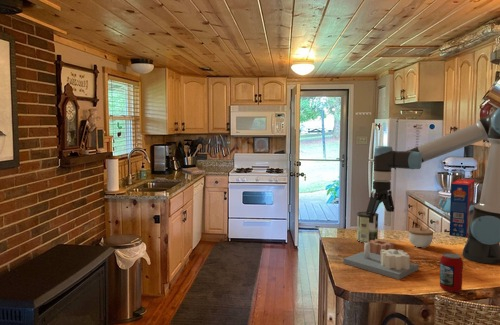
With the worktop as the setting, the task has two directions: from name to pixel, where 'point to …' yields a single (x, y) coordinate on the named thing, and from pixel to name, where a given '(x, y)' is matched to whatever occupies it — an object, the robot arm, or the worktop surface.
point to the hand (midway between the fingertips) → (379, 227)
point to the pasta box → (461, 206)
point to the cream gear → (394, 259)
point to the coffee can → (366, 228)
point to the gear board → (377, 264)
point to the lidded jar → (420, 237)
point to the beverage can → (451, 272)
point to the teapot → (445, 205)
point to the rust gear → (380, 246)
